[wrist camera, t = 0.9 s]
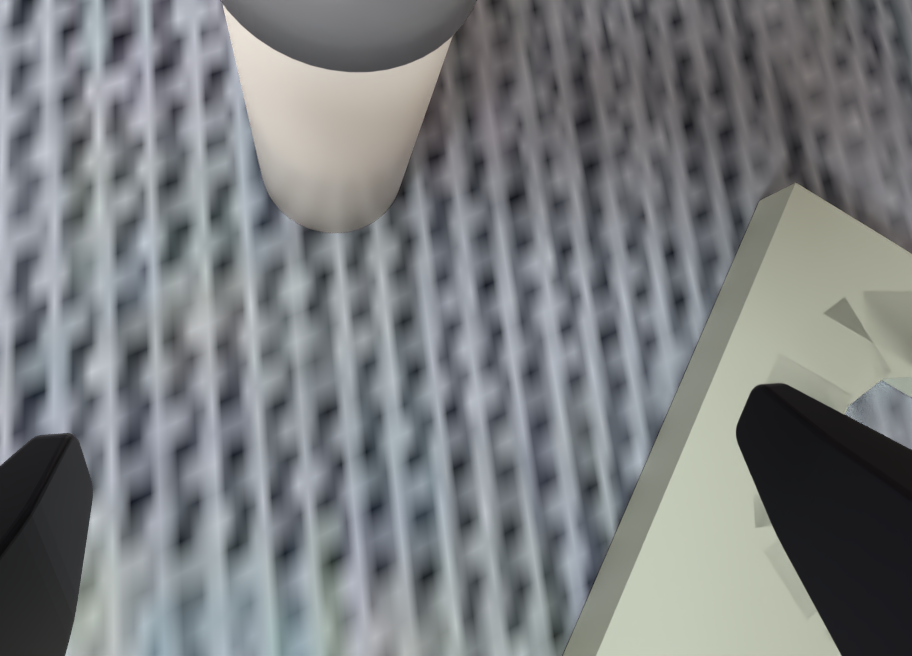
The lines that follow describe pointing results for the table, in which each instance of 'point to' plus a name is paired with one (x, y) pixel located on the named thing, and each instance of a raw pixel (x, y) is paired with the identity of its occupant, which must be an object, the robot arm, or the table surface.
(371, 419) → the table surface
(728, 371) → the socket plate
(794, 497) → the robot arm
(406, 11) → the plug
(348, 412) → the table surface
